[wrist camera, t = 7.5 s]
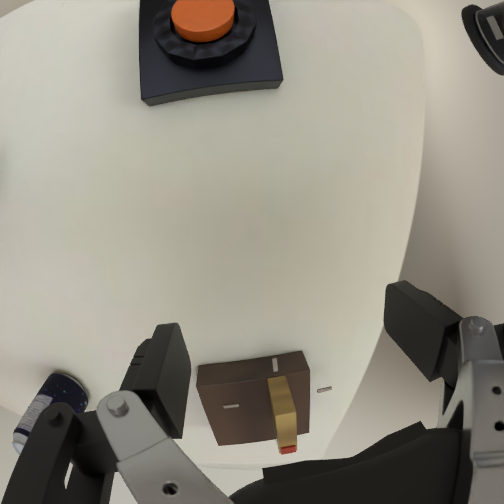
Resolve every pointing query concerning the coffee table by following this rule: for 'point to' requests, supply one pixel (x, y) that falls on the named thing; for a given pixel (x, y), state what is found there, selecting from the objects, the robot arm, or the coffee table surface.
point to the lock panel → (252, 396)
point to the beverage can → (50, 392)
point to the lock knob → (283, 414)
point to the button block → (206, 54)
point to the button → (203, 19)
